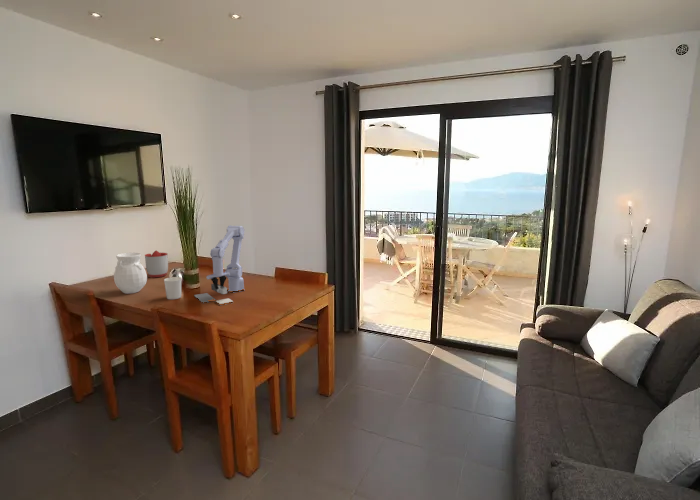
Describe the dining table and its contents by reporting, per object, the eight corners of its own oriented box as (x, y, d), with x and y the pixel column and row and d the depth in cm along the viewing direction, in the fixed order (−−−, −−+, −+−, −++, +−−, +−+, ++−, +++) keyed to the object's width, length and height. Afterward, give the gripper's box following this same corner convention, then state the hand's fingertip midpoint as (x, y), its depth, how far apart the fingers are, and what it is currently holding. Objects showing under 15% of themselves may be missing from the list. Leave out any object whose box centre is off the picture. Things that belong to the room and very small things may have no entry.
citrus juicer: (165, 272, 291) (164, 247, 288) (171, 276, 278) (169, 251, 275) (144, 274, 281) (141, 249, 278) (148, 279, 268) (146, 253, 265)
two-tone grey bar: (216, 288, 232) (215, 283, 232) (227, 293, 223) (226, 287, 222) (211, 289, 230) (211, 284, 229) (222, 294, 221) (222, 288, 220)
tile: (228, 298, 226) (233, 301, 220) (229, 300, 226) (233, 303, 221) (215, 300, 221) (219, 303, 215) (216, 303, 221) (220, 306, 216)
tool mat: (206, 293, 237) (206, 292, 237) (216, 300, 224) (216, 300, 224) (194, 295, 233) (194, 295, 232) (202, 303, 219) (202, 302, 219)
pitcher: (133, 296, 229) (129, 258, 224) (108, 294, 232) (104, 256, 228) (154, 288, 247) (151, 252, 242) (131, 286, 250) (127, 251, 246)
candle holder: (163, 300, 223) (162, 281, 221) (167, 295, 232) (165, 277, 230) (181, 299, 226) (179, 280, 223) (183, 294, 235) (182, 276, 233)
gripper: (225, 264, 232) (226, 284, 234) (203, 267, 221) (204, 289, 223) (231, 266, 227) (232, 287, 229) (209, 269, 216) (210, 291, 219)
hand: (219, 288), depth 226 cm, fingers closed on two-tone grey bar, 3 cm apart
